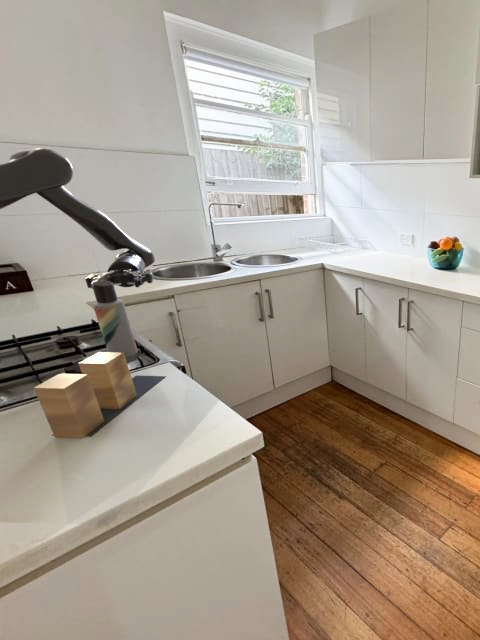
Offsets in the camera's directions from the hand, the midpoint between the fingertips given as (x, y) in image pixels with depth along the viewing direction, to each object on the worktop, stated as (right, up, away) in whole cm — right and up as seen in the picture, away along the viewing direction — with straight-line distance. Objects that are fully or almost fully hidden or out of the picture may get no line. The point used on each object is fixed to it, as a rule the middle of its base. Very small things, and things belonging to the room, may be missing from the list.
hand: (116, 285), depth 97 cm
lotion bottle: (+4, -19, -3) cm, 20 cm away
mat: (+16, -27, -20) cm, 37 cm away
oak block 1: (+16, -30, -28) cm, 45 cm away
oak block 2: (+16, -27, -20) cm, 37 cm away
